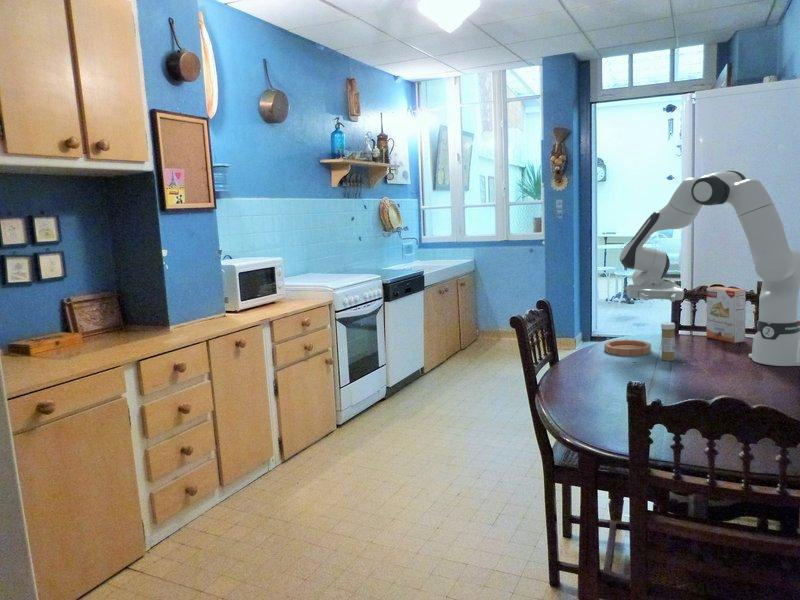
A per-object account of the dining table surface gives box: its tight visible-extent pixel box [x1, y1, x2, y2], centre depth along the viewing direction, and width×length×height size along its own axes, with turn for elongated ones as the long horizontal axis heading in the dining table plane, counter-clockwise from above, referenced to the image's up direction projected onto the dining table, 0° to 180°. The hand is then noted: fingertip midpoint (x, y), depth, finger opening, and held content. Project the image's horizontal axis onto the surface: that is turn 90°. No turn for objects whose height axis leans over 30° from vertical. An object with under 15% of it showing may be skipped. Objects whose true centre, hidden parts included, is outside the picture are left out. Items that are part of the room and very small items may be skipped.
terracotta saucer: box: [603, 339, 652, 357], centre depth 233 cm, size 17×17×2 cm
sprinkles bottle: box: [660, 321, 676, 362], centre depth 215 cm, size 5×5×14 cm
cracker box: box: [706, 286, 747, 344], centre depth 239 cm, size 14×6×21 cm, turn 17°
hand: (659, 298), depth 222 cm, fingers open, 8 cm apart
